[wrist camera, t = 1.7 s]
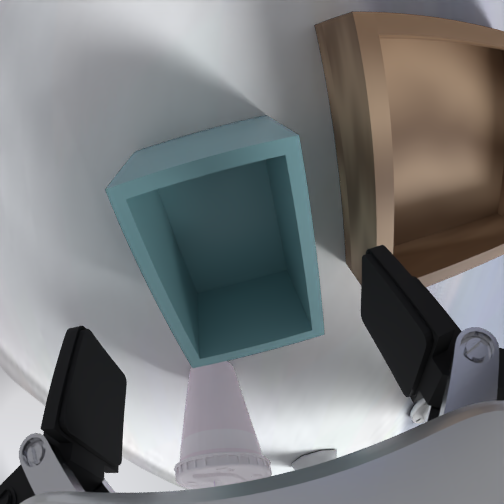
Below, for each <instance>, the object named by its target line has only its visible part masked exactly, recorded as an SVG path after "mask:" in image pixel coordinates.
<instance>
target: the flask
mask: <svg viewBox="0 0 504 504" xmlns="http://www.w3.org/2000/svg"><path fill="white" fill-rule="evenodd" d="M336 456H337V450H323V451H318V452H315V453H311V454H308V455H304V456H301V457H300V458H299V459H297V460H296V461H295V462H293V463H292V466H293V468H294V470H299V469H303V468H306V467H310V466H313V465H317V464H320V463H323V462H326V461H330V460H333V459H336Z"/></svg>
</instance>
